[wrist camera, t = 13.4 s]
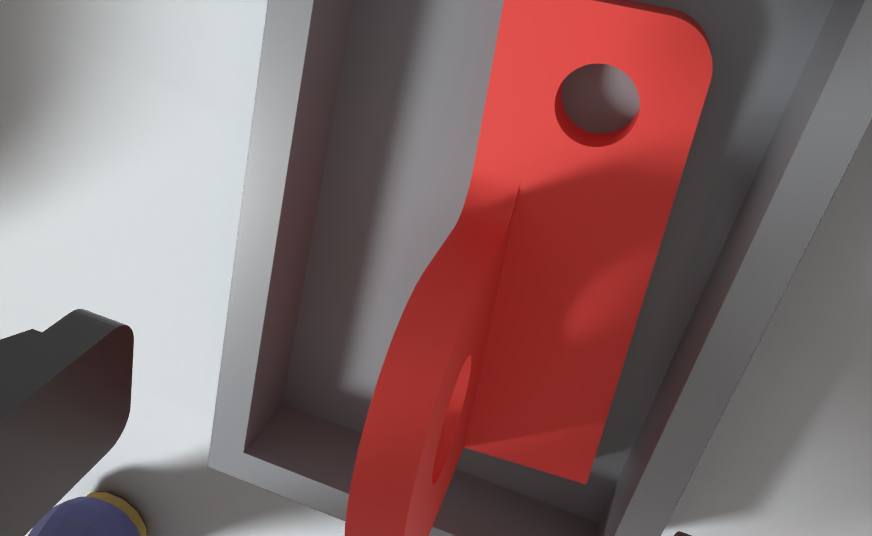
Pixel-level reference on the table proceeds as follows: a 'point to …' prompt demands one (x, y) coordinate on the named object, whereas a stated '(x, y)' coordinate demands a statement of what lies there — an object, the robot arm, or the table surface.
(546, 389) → the bracket
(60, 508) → the rubber mallet
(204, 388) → the table surface
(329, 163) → the tray
